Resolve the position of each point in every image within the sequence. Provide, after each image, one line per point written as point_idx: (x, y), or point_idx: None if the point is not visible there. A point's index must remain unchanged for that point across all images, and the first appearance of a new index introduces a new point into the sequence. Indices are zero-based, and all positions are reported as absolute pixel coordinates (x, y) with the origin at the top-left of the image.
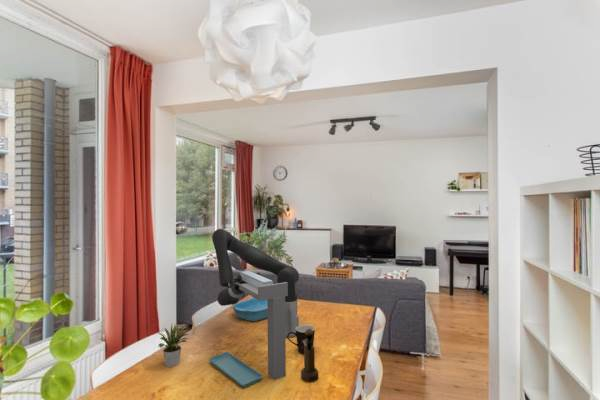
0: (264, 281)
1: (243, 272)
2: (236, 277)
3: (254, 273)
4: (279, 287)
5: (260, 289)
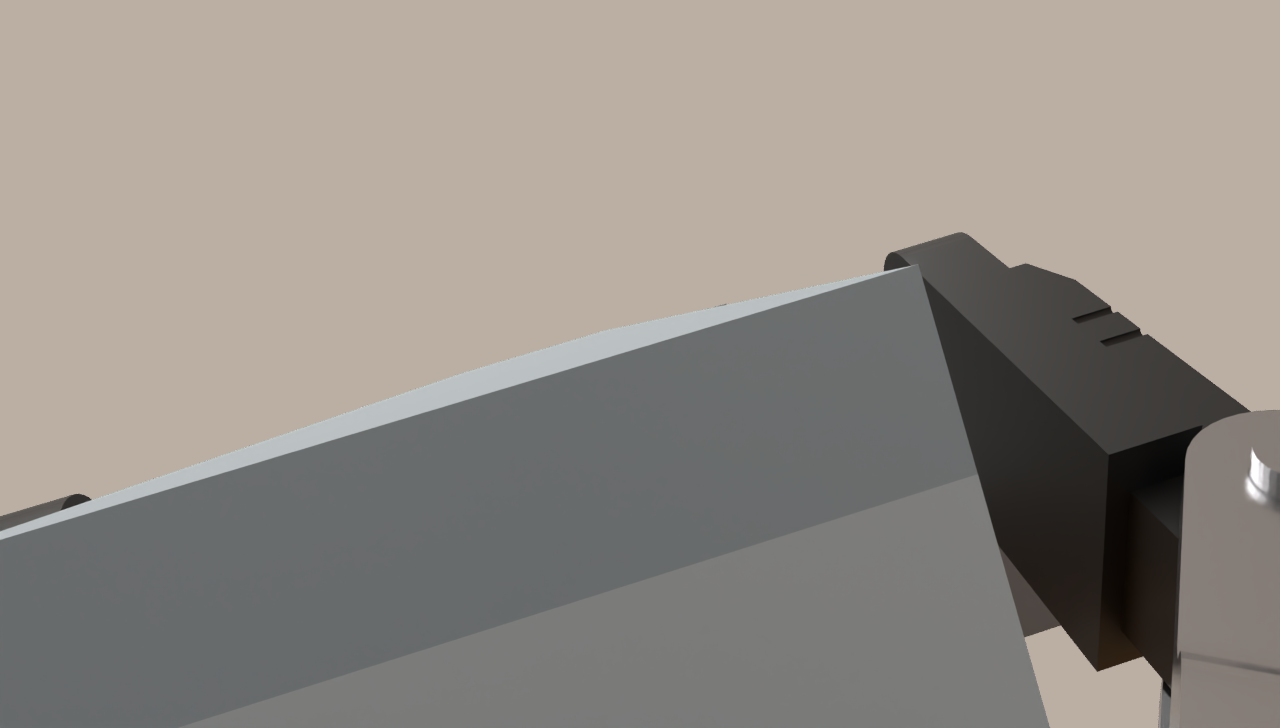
0: (575, 339)
1: (685, 321)
2: (1244, 427)
3: (334, 418)
4: None
5: None
